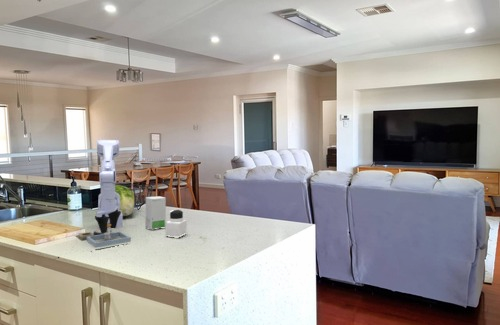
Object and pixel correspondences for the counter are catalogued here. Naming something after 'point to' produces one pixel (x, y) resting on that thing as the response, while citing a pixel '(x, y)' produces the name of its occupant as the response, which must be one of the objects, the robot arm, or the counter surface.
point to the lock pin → (108, 232)
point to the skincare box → (155, 212)
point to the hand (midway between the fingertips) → (108, 230)
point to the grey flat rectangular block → (88, 234)
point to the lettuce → (125, 199)
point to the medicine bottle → (175, 223)
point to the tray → (123, 239)
